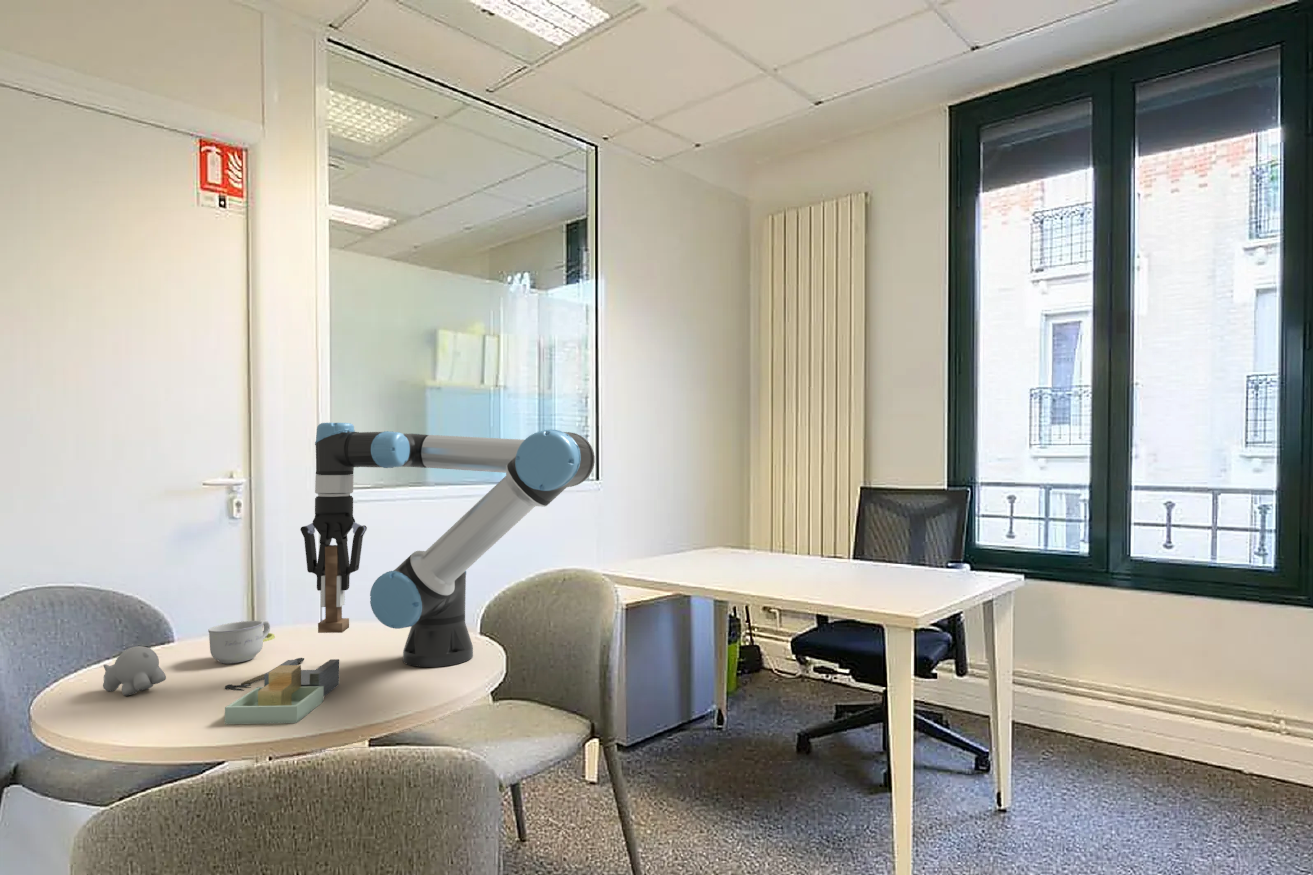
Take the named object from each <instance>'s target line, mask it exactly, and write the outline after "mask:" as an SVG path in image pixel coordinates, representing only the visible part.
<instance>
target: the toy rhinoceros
mask: <svg viewBox="0 0 1313 875" xmlns="http://www.w3.org/2000/svg"><path fill="white" fill-rule="evenodd" d="M102 667H103V668H104V671H105V673H104V674H103V682H102V688H103V689H104V690H105V691H107V692H114V691H116V690H117V689H119V687H120V686H121V693H122V695H123V696H124V697H127V696H131V695H134V694H136V693H138V692H139V691H142V692H143V691H146V690H149V689H151V688H152V687H153V686H154V685H157V684H161V683H162V682H164V681H165V680H166V679H167V676H166V674H165V672H164V670H163V669H162V668H161V667H160V661H159V656H158V654H157V653H156V652H155V650H153V649H152V648H150V647H146V646H133V647H130V648H128V649H126V650H124V651H123V652H121V653H120V654H119V655H118V657H117V658H116V659H115V662H114V664H111V665H108V664H103V666H102Z"/></svg>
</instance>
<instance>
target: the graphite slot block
mask: <svg viewBox="0 0 1313 875" xmlns="http://www.w3.org/2000/svg"><path fill="white" fill-rule="evenodd" d="M280 665H298V664H297V660H295V659H287V660H286V661H284V662H282V663H281V664H280ZM275 668H276V667H273V668H272V669H270V670H269V671H267V672H265V673H266V674H265V673H263V674H264V679H263V681H264V683H263V684H264V686H263V687H265V686H266V685H268V684H269V672H270V671H272V670H273V669H275ZM339 685H340V659H339V658H338V659H336V658H335V659H334V658H333V659H329V660H327V661H326V662H325V663H323V664H321V665H320V666H318V667H317V668H316V669H301V686H324V693H323V698H324V697H326V696H327V695H328V694H329V693H331V692H332V691H333V690H335V689H336V688H337V687H338V686H339Z"/></svg>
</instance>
